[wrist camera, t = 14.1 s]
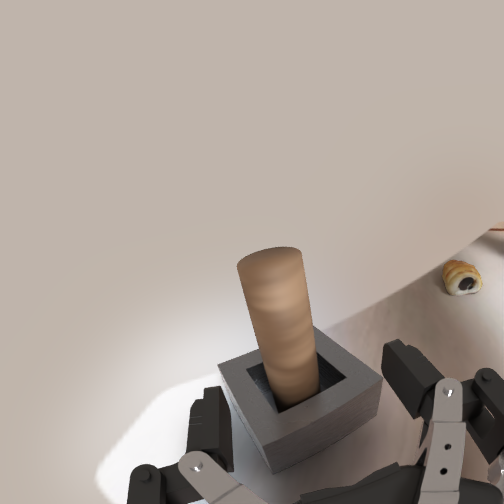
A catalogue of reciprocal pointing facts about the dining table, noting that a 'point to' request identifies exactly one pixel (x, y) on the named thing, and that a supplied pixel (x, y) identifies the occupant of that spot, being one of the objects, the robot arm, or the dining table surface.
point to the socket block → (303, 403)
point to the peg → (282, 323)
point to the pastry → (461, 278)
